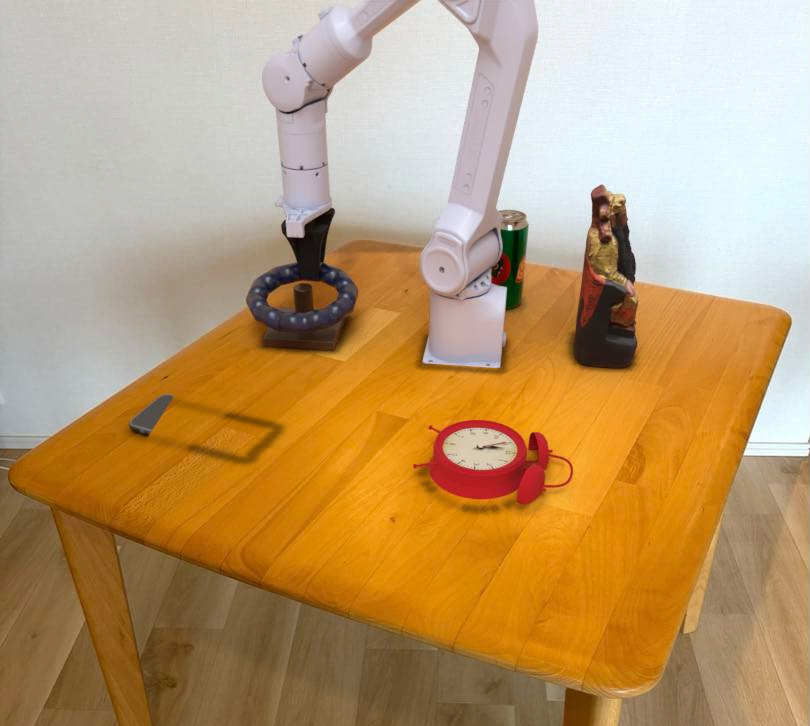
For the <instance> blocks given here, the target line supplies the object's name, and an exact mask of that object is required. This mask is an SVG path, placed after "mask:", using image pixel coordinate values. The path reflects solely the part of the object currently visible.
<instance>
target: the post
mask: <svg viewBox="0 0 810 726" xmlns="http://www.w3.org/2000/svg"><path fill="white" fill-rule="evenodd" d="M292 291H293V302H294V307H293V306H292V307H291V306H279V308H278V310H280V311H282V312H296V313H306V312H310V311H314V310H318V309H319V308H315V303H314V291H313V286H312V284H310V283H307V282H306V283H305V282H301V283H297V284H294V285H293V287H292ZM347 317H348V316H347ZM347 317H345V318H344V319H343V320H341V321H340V322H339V323H337V324H336V325H334V326H333V327H329V328H325V329H322V330H318V331H314V332H310V333H292V332H279V331H276V330H274V329H272V328H270V327H268V328H267V330H266V331H265V334H264V336H263V337H262V341H263V347H270V348H283V349H300V350H314V351H315V350H316V351H331V352H332V351H334V350H335V348H336V345H337V343H338V342H339V338H340V335H341V333H342V331H343V328H344V326H345V323H346V321H347Z"/></svg>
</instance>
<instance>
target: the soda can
mask: <svg viewBox="0 0 810 726" xmlns="http://www.w3.org/2000/svg"><path fill="white" fill-rule="evenodd" d="M498 211H499V212H500V213H501V214H502V216H503V219H502V223H501V238H502V245H503V249H502V254H501V257H500V259H499V261H498V262H497V263H496V264H495V265H494V266H493V267H491V268H492V269H491V283H492V284H495V285H498V286H503V287H507V297H506V309H505V310H511V309H515V308H516V307H518V306H519V305H520V304H521V303H522V301H523V293H524V282H525V270H526V260H527V249H528V237H529V227H530V224H529V221H528V219H527V217H528V216H527V214H526V213H524V212H523V211H520V210H517V209H501V210H498Z"/></svg>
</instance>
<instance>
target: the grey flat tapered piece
mask: <svg viewBox="0 0 810 726" xmlns="http://www.w3.org/2000/svg"><path fill="white" fill-rule="evenodd" d="M174 397H175V394H171V393H170V394H169V393H165V394H162V395H160V396H157V397H156V398H155V399H154V400H153V401H152V402H150V403H149V404H147V406H146V407H144V408H143V409H142V410H141V411H139V412H138V413H137V414H136V415H134V417H132V418H131V419H130V421H129V423H128V426H129V428H130V430H132V431H134V432H137V433H140V434H144V435H148V436H150V434H151V433H152V431H153V430H154V428H155V427H156V425H158V422H159V420H161V417H162V416H163V414H164V413H165V411H166V410H167V408H168V407H169V405H170V404H171V402H172V400H173V399H174Z"/></svg>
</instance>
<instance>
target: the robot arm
mask: <svg viewBox="0 0 810 726" xmlns="http://www.w3.org/2000/svg"><path fill="white" fill-rule="evenodd" d="M420 1H422V0H359V2H358V3H357V4H356V5H355V6H354V7H351V6H348V5H343V4H338V5H336V6H333V5H329V6H326V7H324V8H322V9H321V10H320V11H319V12H318V13H317V16H318V18H319V21H318V22H317V23H316V24H315V25H313V27H312V28H310V29H308V31H307V32H305V34H297V35H295V37H294V38H293V39H292V40H291V43H292V46H291V48H290V50H289V51H286V52H282V51H281V52H275V53H272V54H271V55H270V56H269V58H268V60H267V61H266V62H265V64H264V66H263V68H262V74H261V76H262V77H261V79H262V80H261V82H262V87H263V91H264V95H265V96H266V98H267V99H268V101H269V102H270V104H271V105H272V106H273V107H274V108H275V116H276V117H275V118H276V128H277V140H278V148H279V149H278V150H279V161H280V162H279V163H280V171H281V183H282V184H281V185H282V192H283V195H278V196H277V197H276V198H275V199H274V206H275V208H276V207H277V208H283V211H284V215H285V218H286V219H284V220H283V221H282V223H281V224H280V229H281V233H282V235H283V236H284V237H285V239H286V240H287V241H288V244H289V245H290V247H291V250H292V252H293V255H294V257H295V262H297V264H298V267H299V270H300V273H301V275H302V277H311V278H317V277H318V274H319V269H320V263H325V257H326V248H327V241H328V235H329V231H330V227H331V224H332V222H333V220H334V217H335V214H336V210H335V208H334V207H333V198H332V197H331V188H330V171H329V169H330V168H329V155H328V154H329V153H328V137H327V119H326V116H327V113H329V112H328V110H329V109H328V101H329V98H330V96H331V95H332V93H333V91H334V87H335V85H337V84H338V83H339V82H340V81H342V80H343V79H344V78H346V77H347V76H348V75H349V74H350V73H351V72H352V71H354V70H355V69H356V68H357V67H358V66H360V65H361V64H363V63H364V62H365V61H366V60H367V59H368V58H370V56H371V53H372V51H373V38H374V37H375V36H376V35H378V34H379V33H380V32H381V31H383V30H384V29H386V27H388V26H389V25H391V24H392V23H393V22H394V21H396V20H397V19H398V18H399V17H401V16H403V14H405V13H406V12H408V11H409V10H410V9H411V8H413V7H414V6H415V5H417V4H418V3H419V2H420ZM437 1H438V3H440V4H441V5H442V7H444V8H445V9H446V10H447V11H448V12H449V13H450V14H451V15H452V16H454V17H455V18H456V19H457V20H458V21H459V22H460V23H461V24H462V25H464V27H465V28H467V30H468V32H469V33H470V35H471V36H472V38H473V39H474V41H475V43H476V44H477V47H478V53H477V58H476V62H475V67H474V72H473V78H472V82H471V88H470V93H469V97H468V102H467V107H466V111H465V117H464V122H463V127H462V132H461V137H460V141H459V145H458V146H459V147H458V150H457V151H458V152H457V157H456V162H455V166H454V172H453V177H452V180H451V181H452V182H451V185H450V191H449V196H448V201H447V203H446V206H445V207H444V208H443V210H442V212H441V214H440V216H439V217H438V219H437V221H436V223H435V224H434V226H433V230H432V234H431V238H430V239H429V242H428V243H427V244H426V245H425V247H424V248H423V249H422V251H421V252H420V256H419V261H418V265H419V272H420V275H421V277H422V279H423V282H424V283H425V284H426V285H427V287H428V292H429V321H428V322H429V323H428V324H429V325H428V335H427V341H426V345H425V349H424V353H423V357H422V364H429V365H430V364H431V365H445V366H446V365H448V366H462V367H463V366H464V367H478V368H494V369H501V367H502V366H501V365H502V355H503V354H502V353H503V348H505V347H506V342H507V340H506V339H507V331H505V319H506V310H507V309H506V297H507V287H503V286H498V285H495V284H492V283H491V269H492V268H491V267H493V266H494V265H495V264H496V263H497V262H498V261H499V259H500V257H501V254H502V249H503V245H502V238H501V223H502V219H503V216H502V214H501V213H500V212H499V211H500V210H498V208H497V205H498V201H499V198H500V193H501V190H502V185H503V180H504V177H505V174H506V173H505V172H506V168H507V165H508V160H509V156H510V153H511V148H512V146H513V145H512V144H513V141H514V140H513V139H514V135H515V132H516V129H517V123H518V120H519V116H520V112H521V107H522V103H523V100H524V96H525V92H526V89H527V88H526V87H527V84H528V79H529V76H530V71H531V67H532V63H533V59H534V55H535V50H536V47H537V43H538V38H539V23H538V16H537V9H536V3H535V0H437Z"/></svg>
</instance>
